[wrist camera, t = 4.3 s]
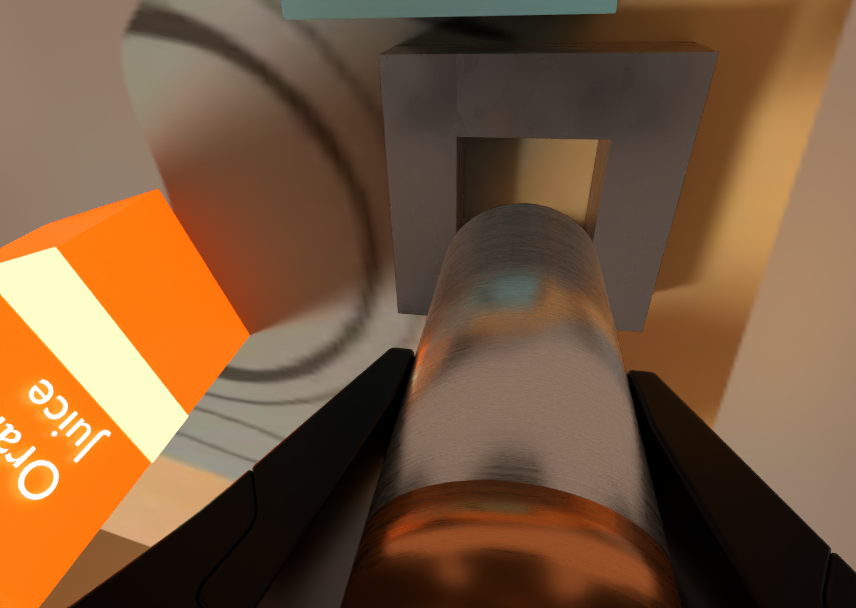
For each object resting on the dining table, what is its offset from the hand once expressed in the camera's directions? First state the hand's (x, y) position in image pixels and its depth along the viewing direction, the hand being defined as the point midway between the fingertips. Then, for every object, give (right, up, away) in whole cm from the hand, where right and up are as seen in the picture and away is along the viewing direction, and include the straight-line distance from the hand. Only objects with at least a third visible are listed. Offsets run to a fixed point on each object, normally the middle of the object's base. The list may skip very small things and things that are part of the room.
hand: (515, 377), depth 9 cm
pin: (+1, +2, +3) cm, 4 cm away
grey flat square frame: (+2, +6, +11) cm, 13 cm away
